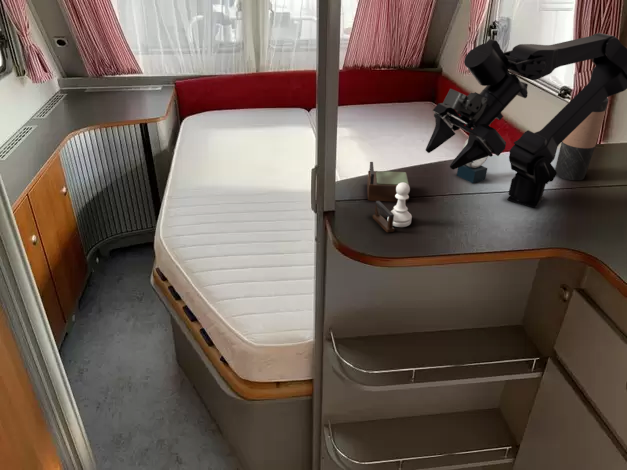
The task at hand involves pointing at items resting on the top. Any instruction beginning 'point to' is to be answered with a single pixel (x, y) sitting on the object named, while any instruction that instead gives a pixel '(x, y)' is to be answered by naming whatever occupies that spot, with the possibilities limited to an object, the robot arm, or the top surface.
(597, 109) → the travel mug
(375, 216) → the low rail
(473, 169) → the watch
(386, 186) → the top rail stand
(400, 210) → the chess pawn
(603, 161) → the top surface
